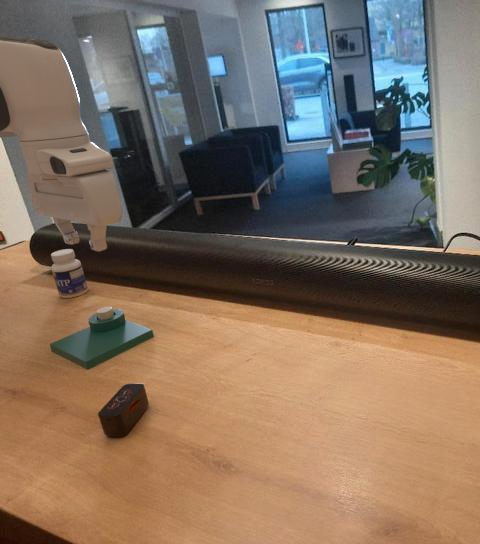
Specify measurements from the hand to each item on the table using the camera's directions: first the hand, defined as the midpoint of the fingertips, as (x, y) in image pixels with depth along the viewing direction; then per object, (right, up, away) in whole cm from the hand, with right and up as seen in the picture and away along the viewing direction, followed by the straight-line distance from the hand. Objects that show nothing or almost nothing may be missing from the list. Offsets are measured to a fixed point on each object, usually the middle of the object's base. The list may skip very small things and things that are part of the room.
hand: (86, 246), depth 78 cm
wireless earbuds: (+14, -22, -17) cm, 31 cm away
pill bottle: (-15, -8, +23) cm, 29 cm away
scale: (+2, -16, +2) cm, 16 cm away
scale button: (+1, -12, +5) cm, 13 cm away
